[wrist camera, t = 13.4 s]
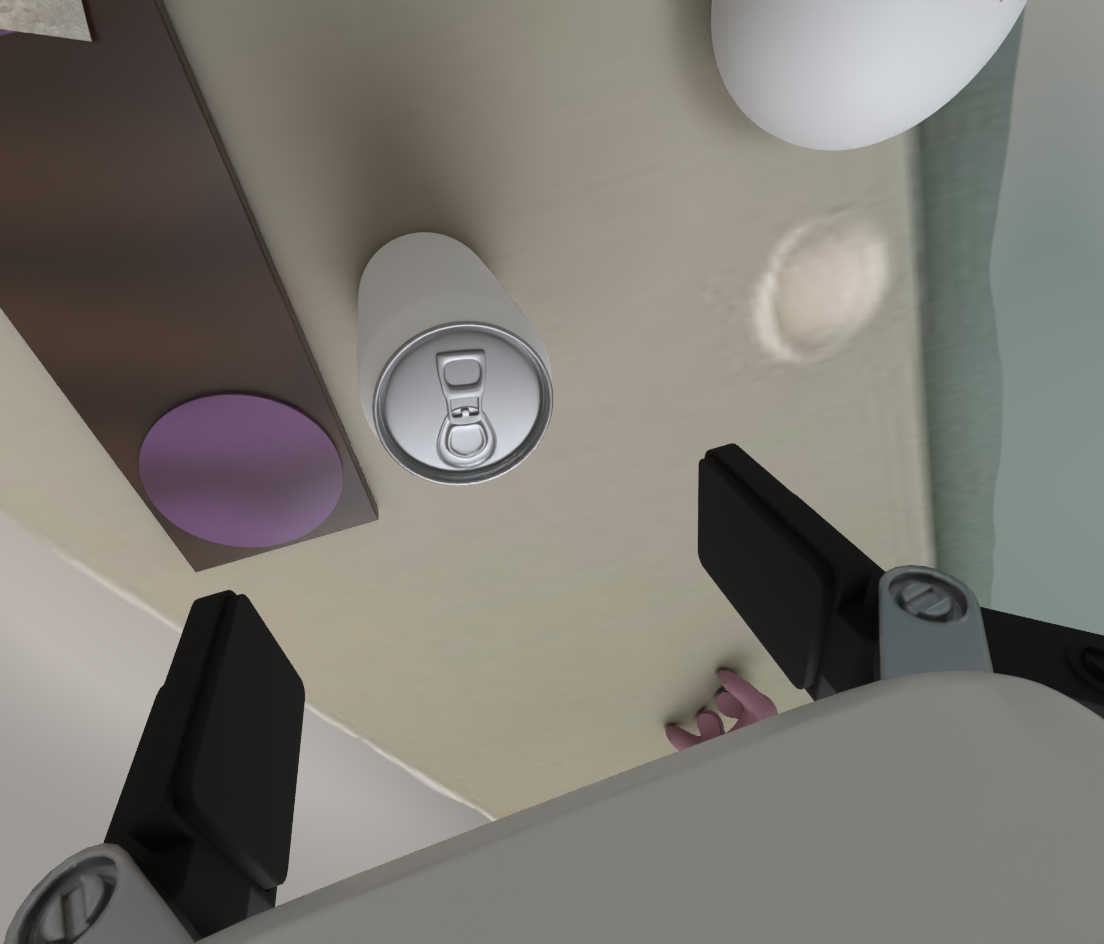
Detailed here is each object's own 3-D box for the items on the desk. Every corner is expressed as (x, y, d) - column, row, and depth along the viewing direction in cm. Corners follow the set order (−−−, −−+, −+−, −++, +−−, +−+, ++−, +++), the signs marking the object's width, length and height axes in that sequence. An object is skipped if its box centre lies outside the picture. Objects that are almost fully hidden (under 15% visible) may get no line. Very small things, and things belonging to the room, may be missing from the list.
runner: (-536, -460, 12) (-619, -512, 11) (-38, -471, 14) (-71, -519, 13) (199, 561, 31) (194, 576, 30) (378, 509, 32) (379, 523, 31)
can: (369, 370, 28) (374, 510, 18) (346, 231, 24) (337, 314, 15) (496, 359, 29) (563, 482, 20) (491, 227, 26) (570, 299, 16)
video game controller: (677, 720, 58) (728, 780, 55) (658, 734, 54) (711, 799, 51) (737, 656, 55) (796, 716, 51) (720, 667, 51) (783, 732, 48)
